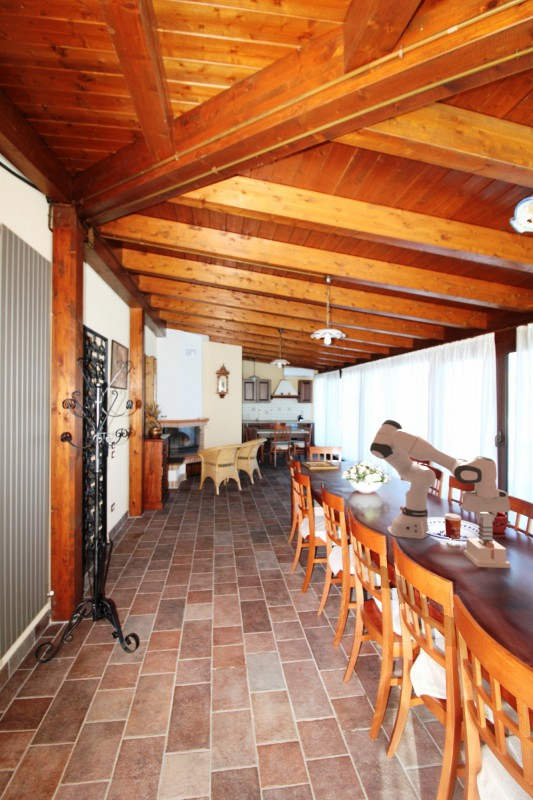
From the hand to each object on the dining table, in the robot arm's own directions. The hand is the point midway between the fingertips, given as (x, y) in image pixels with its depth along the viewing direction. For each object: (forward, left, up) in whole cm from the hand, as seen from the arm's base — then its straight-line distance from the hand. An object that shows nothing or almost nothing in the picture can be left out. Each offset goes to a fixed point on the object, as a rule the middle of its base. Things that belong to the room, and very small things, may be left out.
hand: (485, 520), depth 171 cm
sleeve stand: (0, 0, -19) cm, 19 cm away
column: (0, 0, -19) cm, 19 cm away
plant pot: (+21, +34, -19) cm, 44 cm away
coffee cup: (-7, +19, -19) cm, 28 cm away
